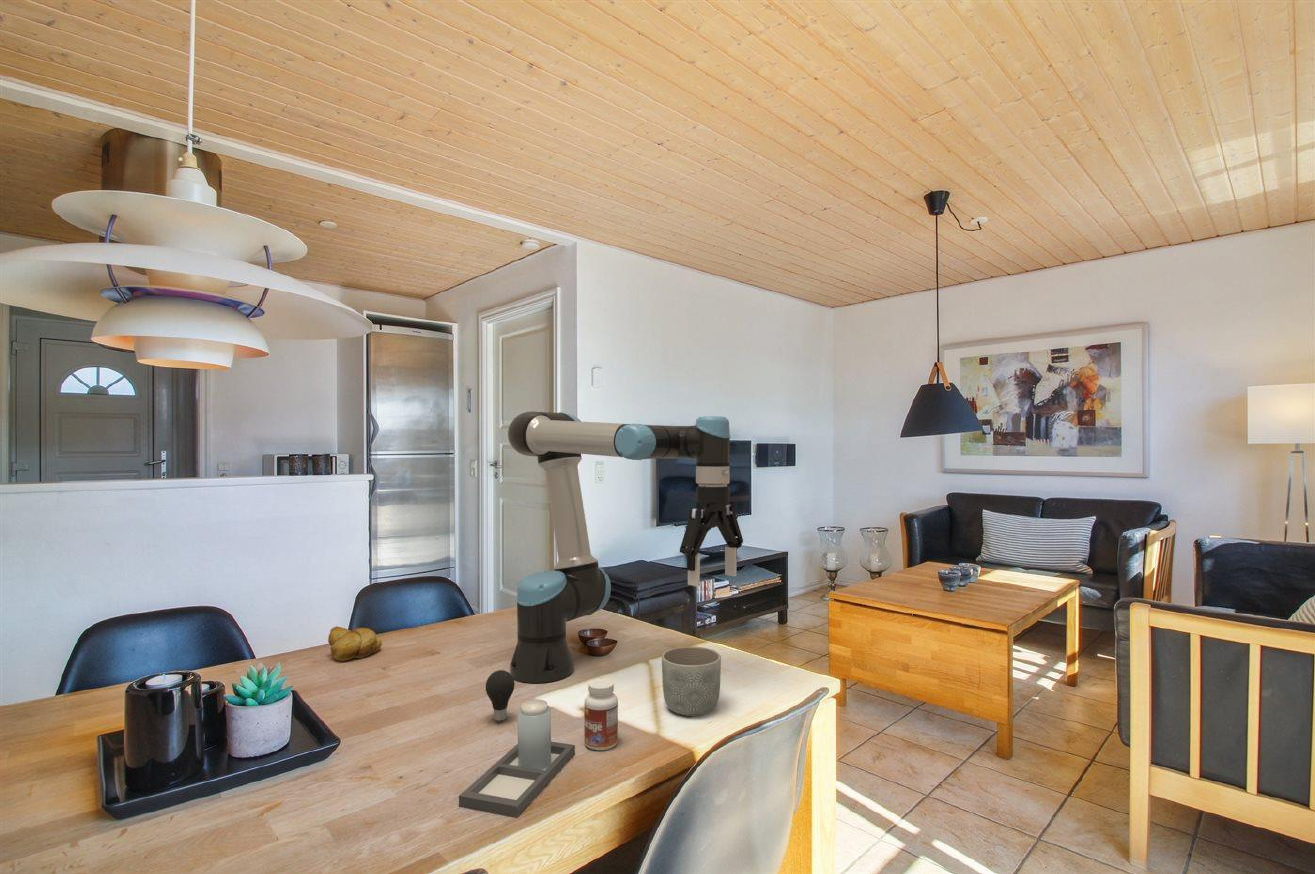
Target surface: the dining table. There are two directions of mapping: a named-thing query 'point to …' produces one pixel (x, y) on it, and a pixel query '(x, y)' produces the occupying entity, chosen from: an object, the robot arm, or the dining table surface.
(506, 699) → the light bulb
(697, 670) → the planter
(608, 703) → the pill bottle
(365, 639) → the bread roll
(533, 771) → the dark grey tray
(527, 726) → the pale blue jar
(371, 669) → the dining table surface
